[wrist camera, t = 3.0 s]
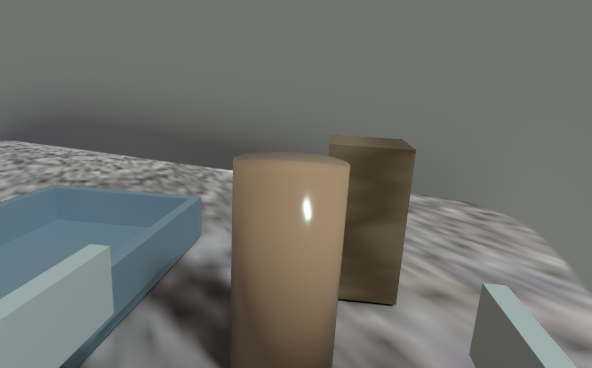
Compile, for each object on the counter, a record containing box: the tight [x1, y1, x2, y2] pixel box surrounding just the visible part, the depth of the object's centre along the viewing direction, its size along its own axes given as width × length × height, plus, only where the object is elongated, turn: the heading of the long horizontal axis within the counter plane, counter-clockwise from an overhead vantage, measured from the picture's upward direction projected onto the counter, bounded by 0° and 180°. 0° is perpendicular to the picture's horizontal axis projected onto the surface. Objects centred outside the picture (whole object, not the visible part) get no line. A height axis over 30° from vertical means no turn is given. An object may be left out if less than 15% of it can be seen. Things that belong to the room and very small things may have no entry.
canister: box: [230, 152, 350, 368], centre depth 18 cm, size 5×5×10 cm
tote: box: [0, 185, 201, 368], centre depth 26 cm, size 14×18×4 cm
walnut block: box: [329, 135, 416, 305], centre depth 26 cm, size 5×5×10 cm
